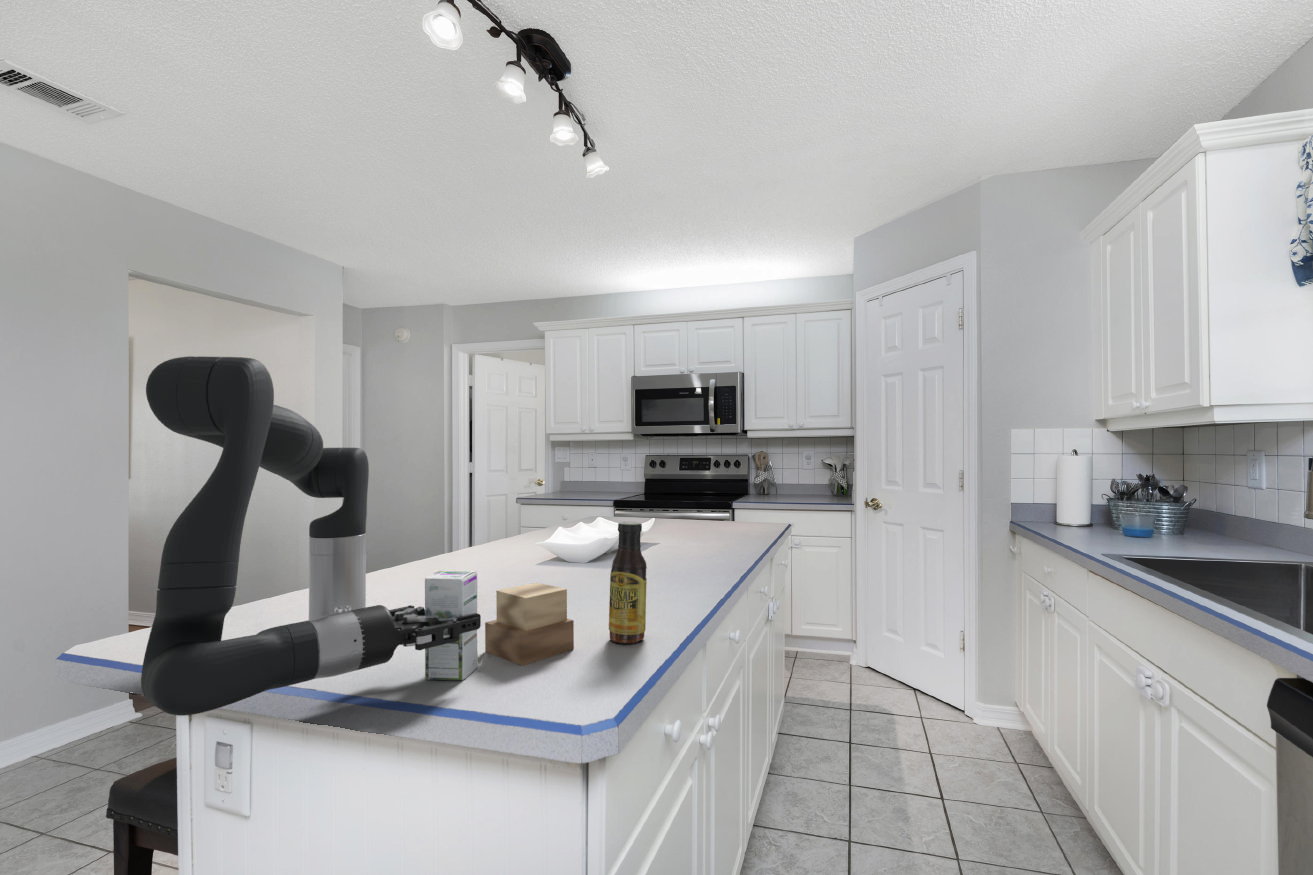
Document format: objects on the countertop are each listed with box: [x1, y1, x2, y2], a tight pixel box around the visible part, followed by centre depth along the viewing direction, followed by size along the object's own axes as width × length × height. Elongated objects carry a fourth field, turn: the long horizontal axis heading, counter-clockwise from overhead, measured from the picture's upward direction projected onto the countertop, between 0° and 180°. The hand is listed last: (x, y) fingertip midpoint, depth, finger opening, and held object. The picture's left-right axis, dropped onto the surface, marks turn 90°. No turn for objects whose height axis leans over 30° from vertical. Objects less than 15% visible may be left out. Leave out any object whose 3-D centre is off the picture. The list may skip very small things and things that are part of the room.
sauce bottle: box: [608, 521, 648, 645], centre depth 104 cm, size 7×6×20 cm
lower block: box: [484, 618, 575, 666], centre depth 98 cm, size 10×10×5 cm
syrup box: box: [424, 570, 479, 681], centre depth 88 cm, size 6×6×14 cm
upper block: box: [495, 582, 568, 631], centre depth 99 cm, size 8×8×5 cm
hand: (463, 615), depth 90 cm, fingers closed on syrup box, 8 cm apart
